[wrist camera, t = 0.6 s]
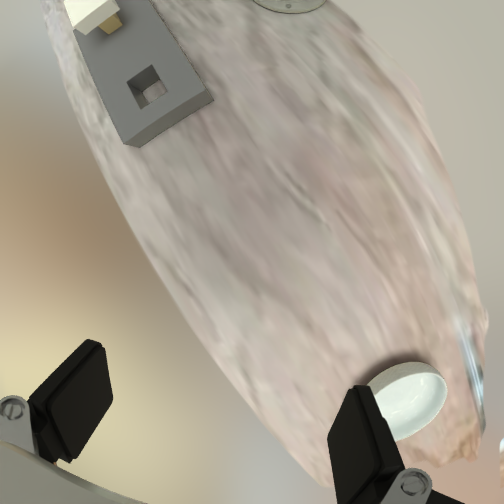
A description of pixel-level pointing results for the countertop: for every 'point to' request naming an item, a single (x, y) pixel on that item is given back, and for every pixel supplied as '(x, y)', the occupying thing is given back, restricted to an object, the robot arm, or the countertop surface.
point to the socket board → (141, 73)
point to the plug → (93, 15)
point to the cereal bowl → (409, 396)
